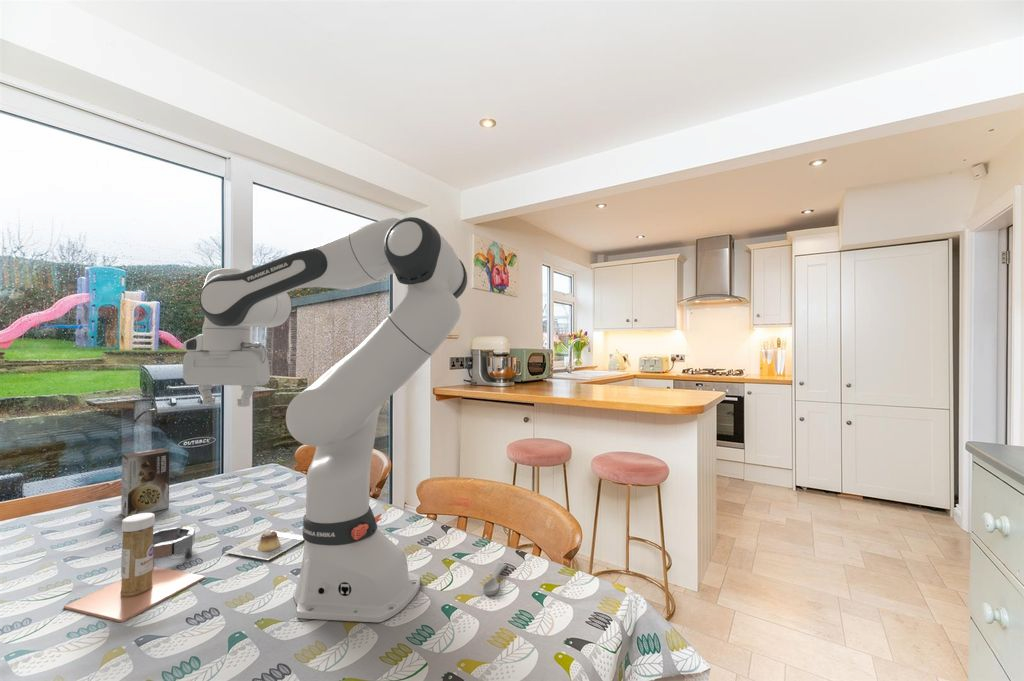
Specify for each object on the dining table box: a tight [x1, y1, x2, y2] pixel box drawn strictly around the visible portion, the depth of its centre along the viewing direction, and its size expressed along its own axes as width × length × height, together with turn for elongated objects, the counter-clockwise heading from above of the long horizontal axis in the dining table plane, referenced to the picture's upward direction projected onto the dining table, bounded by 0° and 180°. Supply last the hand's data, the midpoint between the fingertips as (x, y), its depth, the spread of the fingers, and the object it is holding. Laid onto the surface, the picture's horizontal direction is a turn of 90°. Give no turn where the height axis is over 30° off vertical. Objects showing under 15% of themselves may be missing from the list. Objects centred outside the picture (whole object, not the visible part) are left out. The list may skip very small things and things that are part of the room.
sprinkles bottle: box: [120, 512, 156, 597], centre depth 77 cm, size 5×5×14 cm
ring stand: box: [153, 525, 196, 566], centre depth 90 cm, size 10×10×4 cm
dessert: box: [224, 527, 305, 561], centre depth 96 cm, size 12×12×5 cm
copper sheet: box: [63, 565, 206, 623], centre depth 77 cm, size 14×14×1 cm
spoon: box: [482, 562, 508, 597], centre depth 82 cm, size 3×12×2 cm, turn 169°
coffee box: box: [120, 447, 171, 518], centre depth 117 cm, size 9×6×16 cm
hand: (226, 405), depth 93 cm, fingers open, 8 cm apart
